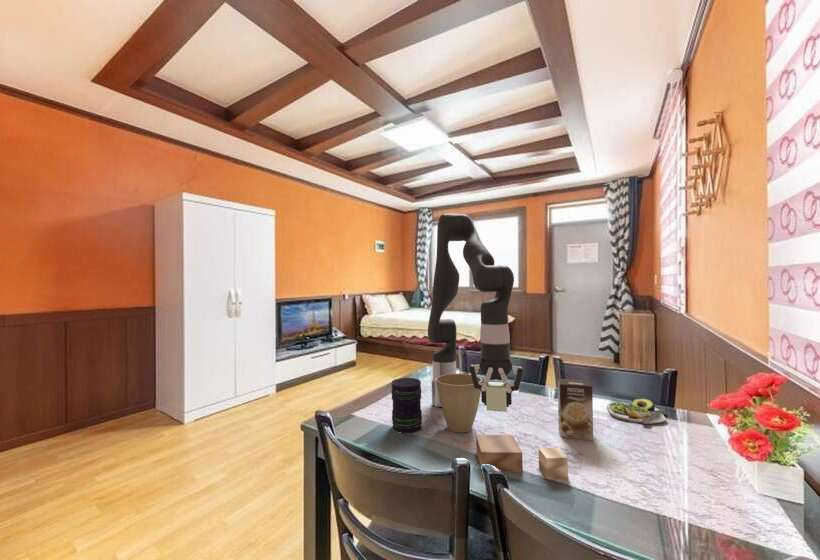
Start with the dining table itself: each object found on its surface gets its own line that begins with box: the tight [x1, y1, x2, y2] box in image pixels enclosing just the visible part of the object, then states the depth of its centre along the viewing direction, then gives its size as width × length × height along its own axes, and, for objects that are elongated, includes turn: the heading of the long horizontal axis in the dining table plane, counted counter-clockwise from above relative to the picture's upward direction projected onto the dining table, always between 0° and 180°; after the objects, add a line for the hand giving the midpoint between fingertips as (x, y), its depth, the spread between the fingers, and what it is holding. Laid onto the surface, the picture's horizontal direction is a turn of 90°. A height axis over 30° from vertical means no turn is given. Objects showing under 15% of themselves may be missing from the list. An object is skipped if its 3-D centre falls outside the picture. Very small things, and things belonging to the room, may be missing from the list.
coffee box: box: [557, 378, 594, 442], centre depth 104 cm, size 9×6×16 cm
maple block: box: [537, 447, 569, 480], centre depth 83 cm, size 5×5×5 cm
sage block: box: [486, 381, 508, 413], centre depth 89 cm, size 5×5×6 cm
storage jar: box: [391, 377, 423, 434], centre depth 112 cm, size 10×10×15 cm
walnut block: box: [475, 434, 524, 473], centre depth 89 cm, size 10×10×5 cm
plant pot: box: [436, 373, 483, 434], centre depth 110 cm, size 15×15×16 cm
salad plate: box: [606, 398, 666, 425], centre depth 117 cm, size 19×18×5 cm
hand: (496, 405), depth 89 cm, fingers closed on sage block, 5 cm apart
